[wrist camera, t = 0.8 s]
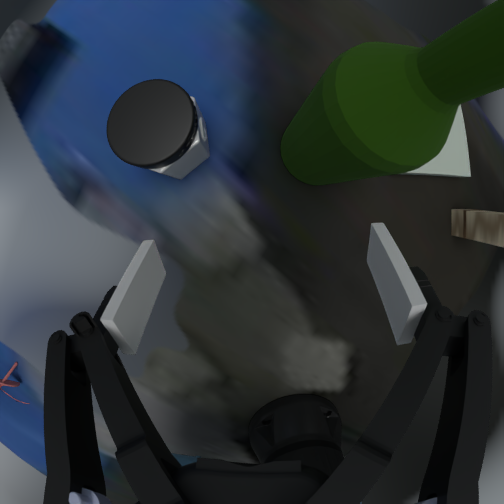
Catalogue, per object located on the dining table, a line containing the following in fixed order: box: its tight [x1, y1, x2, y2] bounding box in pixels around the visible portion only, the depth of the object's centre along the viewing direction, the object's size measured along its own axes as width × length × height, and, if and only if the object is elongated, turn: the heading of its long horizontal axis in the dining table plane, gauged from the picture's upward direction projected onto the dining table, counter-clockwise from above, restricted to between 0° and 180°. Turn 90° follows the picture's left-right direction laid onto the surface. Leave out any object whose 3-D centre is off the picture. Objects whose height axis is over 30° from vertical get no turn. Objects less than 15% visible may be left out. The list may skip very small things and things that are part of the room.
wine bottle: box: [280, 0, 504, 185], centre depth 18 cm, size 9×9×33 cm
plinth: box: [401, 105, 471, 177], centre depth 32 cm, size 16×14×3 cm
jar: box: [107, 79, 210, 180], centre depth 27 cm, size 9×8×12 cm
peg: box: [451, 209, 504, 247], centre depth 30 cm, size 4×4×12 cm
